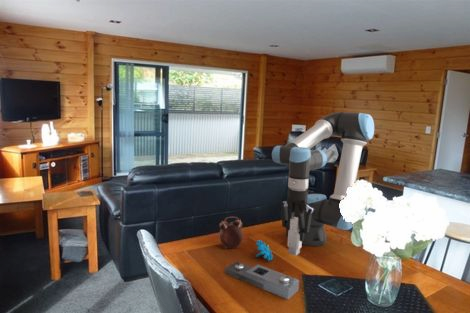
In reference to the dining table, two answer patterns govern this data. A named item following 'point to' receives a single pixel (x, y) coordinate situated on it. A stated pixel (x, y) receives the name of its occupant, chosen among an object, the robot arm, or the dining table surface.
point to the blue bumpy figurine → (264, 250)
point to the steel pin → (293, 236)
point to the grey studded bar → (265, 279)
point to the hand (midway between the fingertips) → (294, 246)
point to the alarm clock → (231, 233)
